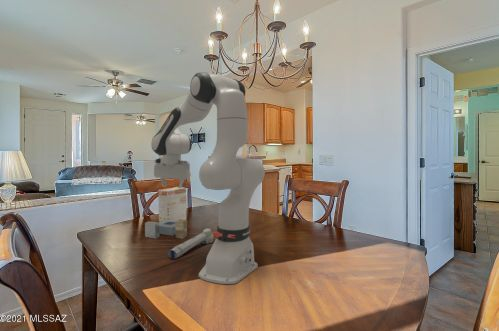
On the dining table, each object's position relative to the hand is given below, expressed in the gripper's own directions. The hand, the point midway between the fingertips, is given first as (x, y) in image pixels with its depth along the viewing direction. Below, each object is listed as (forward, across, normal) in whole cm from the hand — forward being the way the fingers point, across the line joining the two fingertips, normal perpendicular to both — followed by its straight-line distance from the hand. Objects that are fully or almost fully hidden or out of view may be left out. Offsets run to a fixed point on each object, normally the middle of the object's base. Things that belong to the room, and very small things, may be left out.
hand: (172, 187), depth 138 cm
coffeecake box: (+23, +11, -15) cm, 30 cm away
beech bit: (+23, -10, +7) cm, 26 cm away
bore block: (+23, +1, +1) cm, 23 cm away
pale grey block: (+23, +3, +12) cm, 26 cm away
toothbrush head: (+23, -24, +18) cm, 38 cm away
